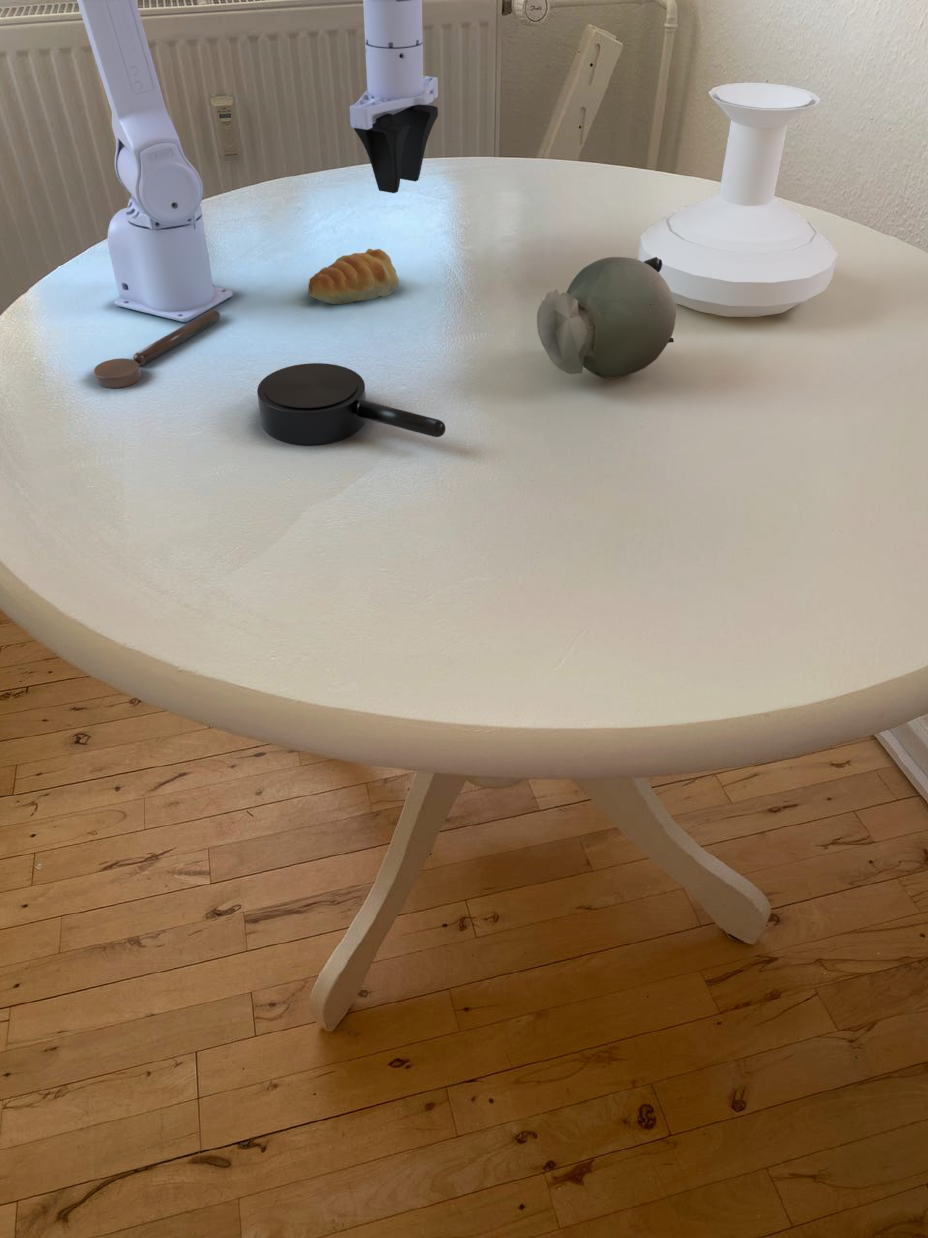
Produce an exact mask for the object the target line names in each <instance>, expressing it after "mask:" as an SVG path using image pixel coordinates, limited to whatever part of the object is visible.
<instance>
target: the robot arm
mask: <svg viewBox="0 0 928 1238" xmlns="http://www.w3.org/2000/svg"><path fill="white" fill-rule="evenodd" d="M76 2H77V5H78V9H79V12H80V15H81V19H82V22H83V24H84V28H85V31H86V35H87V37H88V41H89V45H90V47H91V50H92V53H93V58H94V59H95V63H96V67H97V69H98V73H99V75H100V79H101V83H102V85H103V89H104V91H105V95H106V99H107V102H108V104H109V107H110V111H111V128H112V132H113V136H114V139H115V144H116V145H115V147H116V148H115V153H114V154H115V155H114V170H115V171H114V172H115V173H116V177H117V179H118V181H119V183H120V184H121V185H122V187H123V188H124V189H125V190H126V191H127V192H128V193H130V196H131V197H130V198H129V200H128V203H127V207H124V208H121V209H120V210H118V211H117V212H116V213H114V215H113V216H112V218H111V219H110V222H109V225H108V229H107V247H108V251H109V256H110V260H111V265H112V270H113V275H114V279H115V284H116V288H117V293H118V298H115V299H114V300H113V304H114V305H115V306H117V307H120V308H121V307H122V308H125V309H129V310H133V311H137V312H142V313H146V314H148V315H153V316H156V317H162V318H166V319H170V320H174V321H176V322H177V321H178V322H182V323H188V322H190V321H192V320H194V319H196V318H197V317H199V316H201V315H203V314H204V313H206V312H208V311H209V310H211V309H212V308H214V307H215V306H218V305H219V304H220V303H222V302H224V301H226V300H227V299H229V298H231V297H233V295H234V294H233V291H232V290H230V289H227V288H223V287H218V286H214V282H213V275H212V270H211V269H212V268H211V261H210V257H209V256H210V255H209V250H208V244H207V238H206V237H207V236H206V231H205V225H204V217H203V213H202V207H201V204H202V200H203V195H204V189H203V182H202V179H201V176H200V174H199V172H198V171H197V169H196V168H195V167H194V166H193V164H192V163H191V162H190V161H189V159H188V158H187V157H186V155H185V152H184V151H183V148H182V147H183V146H182V143H181V140H180V138H179V135H178V133H177V131H176V128H175V126H174V123H173V122H172V119H171V117H170V115H169V112H168V110H167V108H166V104H165V101H164V96H163V93H162V90H161V86H160V83H159V79H158V75H157V72H156V67H155V64H154V60H153V57H152V53H151V50H150V47H149V43H148V39H147V36H146V32H145V28H144V25H143V22H142V21H143V20H142V17H141V13H140V11H139V7H138V2H137V0H76ZM362 4H363V5H362V6H363V7H362V8H363V9H362V10H363V25H364V27H363V28H364V50H365V69H366V70H365V71H366V84H367V85H366V88H367V89H366V90H365V92H364V93H363V94H362V95H361V96H360V98H359V99H358V100H357V101H356V102H355V103H353V104H352V105H350V106H349V120H350V122H349V123H350V127H351V128H353V130H354V131H355V133H356V135H357V136H358V138H359V139H360V141H361V143H362V145H363V147H364V149H365V151H366V153H367V156H368V159H369V162H370V165H371V168H372V171H373V176H374V179H375V183H376V186H377V189H378V191H379V192H384V193H391V194H396V193H398V192H399V189H400V185H401V180H404V181H411V182H418V181H419V180H420V175H421V171H422V165H423V161H424V156H425V152H426V147H427V143H428V140H429V137H430V134H431V131H432V129H433V126H434V124H435V122H436V120H437V118H438V116H439V107H438V106H436V105H432V104H431V103H433V102H434V100H435V99H437V98H438V97H439V78H438V77H435V76H427V75H424V44H423V43H424V41H423V40H424V37H423V35H424V34H423V33H424V32H423V30H424V29H423V0H362ZM430 104H431V105H430Z"/></svg>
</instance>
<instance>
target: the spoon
mask: <svg viewBox="0 0 928 1238" xmlns="http://www.w3.org/2000/svg"><path fill="white" fill-rule="evenodd" d="M220 318H221V313H220V312H219V311H218V310H217V309H212V308H211V309H209V310H207V311H205V312H204V313H202V314H200V315H198V316H197V317H195V318H193V319H192V320H190V321H188V322H186V323H185V324H184V325H182V326H180V327H179V328H177V329H176V330H174V331H172V332H170V333H169V334H166V335H165V336H163V337H161V338H160V339H158V340H156V341H155V342H153V343H151V344H149V345H147V346H146V347H144V348H143V349H140V350H139V351H137V352H135V353H134V355H133V356H132V357H133V358H132V359H131V358H124V357H123V358H122V357H121V358H112V359H108V360H104V361H102V362H100V363H99V364H97V365H96V366H95V367H94V369H93V373H94V377H95V382H96V383H97V384H98V385H99V386H101V387H103V388H109V389H121V388H125V387H129V386H132V385H134V384H136V383H138V382H139V381H140V379H141V378H142V371H141V366H144V365H146V364H147V363H149V362H151V361H153V360H154V359H156V358H158V357H160V356H161V355H162V354H165V353H166V352H168V351H170V350H171V349H172V348H175V347H176V346H178V345H179V344H181V343H183V342H184V341H186V340H188V339H190V338H191V337H193V336H194V335H196V334H198V333H200V332H201V331H203V330H205V329H206V328H208V327H209V326H211V325H213V324H215V323H216V322H218V321H219V320H220Z"/></svg>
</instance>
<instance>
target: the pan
mask: <svg viewBox="0 0 928 1238" xmlns="http://www.w3.org/2000/svg"><path fill="white" fill-rule="evenodd" d="M256 394H257V400H258V401H257V402H258V408H259V415H260V423H261V426H262V429H263V430H264V432H266V434H268V435H269V436H270V437H272V438H274V439H275V440H278V441H280V442H284V443H287V444H292V445H298V446H299V445H300V446H318V445H327V444H331V443H337V442H339V441H342V440H345V439H347V438H349V437H351V436H353V435H355V434H356V433H358V432H359V431H360V430H361V429H363V427H364V426H365V424H366V421H367V420H369V421H373V422H377V423H381V424H385V425H389V426H392V427H396V428H400V429H404V430H408V431H411V432H414V433H417V434H422V435H426V436H430V437H433V438H440V437H442V436H443V435H444V434H445V433H446V424H445V423H444V421H442V420H441V419H437V418H433V417H429V416H426V415H421V414H419V413H414V412H411V411H407V410H402V409H400V408H395V407H392V406H388V405H383V404H380V403H376V402H373V401H369V400H367V397H366V396H367V395H366V384H365V380H364V379H363V377H362V376H361V375H360V374H359V373H358V372H356V371H355V370H352V369H351V368H348V367H346V366H342V365H337V364H333V363H324V362H323V363H322V362H310V363H309V362H308V363H300V364H299V363H298V364H295V365H290V366H286V367H282V368H280V369H277V370H275V371H273V372H271V373H270V374H268V375H266V376H265V377H264V378H263V379H262V380H261V381H260V383H258V386H257V390H256Z"/></svg>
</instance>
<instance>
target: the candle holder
mask: <svg viewBox="0 0 928 1238" xmlns="http://www.w3.org/2000/svg"><path fill="white" fill-rule="evenodd" d="M708 94H709V96H710V98H711V99H712V100H713V101H714V102H715V103H716V104H717V106H718V107H719V108H720V109H721V110H722V111H723V112H724V114H726V116H727V117H728V118H729V119H730V123H729V129H728V136H727V141H726V142H727V143H726V147H725V155H724V161H723V167H722V168H723V169H722V173H721V180H720V186H719V192H717V193H715V194H712V195H710V196H707V197H705V198H703V199H700V200H699V201H696V202H694V203H691V204H688V205H686V206H684V207H683V208H680V209H676V210H674V211H672V212H670V214H668V215H667V216H665V217H664V218H662V219H660V220H658V221H656V222H655V223H653V224H652V225H651V226H649V228H647V229H646V230H645V231H644V232H643V233H642V234H641V236H639V243H638V254H637V260H640V261H642V262H644V261H646V260H649V259H652V258H655V257H657V258H658V259H661V260H662V268H661V270H660V272H659V274H660V275H661V276H662V277H663V279H664V280H665V281H666V283H667V284H668V286H669V288H670V290H671V293H672V295H673V299H674V302H675V304H678V305H681V306H683V307H686V308H689V309H691V310H695V311H697V312H701V313H706V314H712V315H717V316H720V317H721V316H722V317H726V318H727V317H728V318H729V317H730V318H731V317H735V318H737V317H738V318H741V317H742V318H746V317H747V318H758V317H765V316H771V315H778V314H782V313H784V312H786V311H789V310H790V309H792V308H795V307H796V306H798V305H801V304H802V303H804V302H806V301H807V300H810V299H812V298H813V297H815V296H817V295H819V294H821V293H823V292H825V291H826V290H827V287H828V286H829V284H830V282H831V281H832V279H833V277H834V271H835V268H836V263H837V259H838V254H839V253H838V252H837V251H836V249H835V248H834V247H833V245H832V243H830V241H829V240H828V239H827V238H826V237H825V236H824V235H823V234H822V233H821V232H820V231H819V230H818V229H817V228H816V227H815V226H814V225H813V224H812V222H810V221H808V220H806V219H805V218H804V217H803V216H802V215H800V214H799V213H797V212H796V211H794V210H793V209H792V208H790V207H789V206H787V205H786V204H784V203H783V202H781V201H780V200H778V198H776V197H775V193H776V189H777V188H776V187H777V183H778V177H779V171H780V168H781V167H780V166H781V162H782V156H783V151H784V146H785V140H786V135H787V130H788V124H790V123H791V122H793V121H794V120H795V119H797V118H798V117H800V116H801V115H803V114H804V113H806V112H807V111H809V110H810V109H812V108H814V107H815V106H816V105H817V104H818V103H819V102H820V101H821V98H820V97H819V96H818V95H817V94H816V93H814V92H811V91H809V90H808V89H804V88H801V87H796V86H790V85H786V84H779V83H769V82H736V83H726V84H722V85H719V86H718V85H717V86H715V87H713V88H711V90H709V91H708Z"/></svg>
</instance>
